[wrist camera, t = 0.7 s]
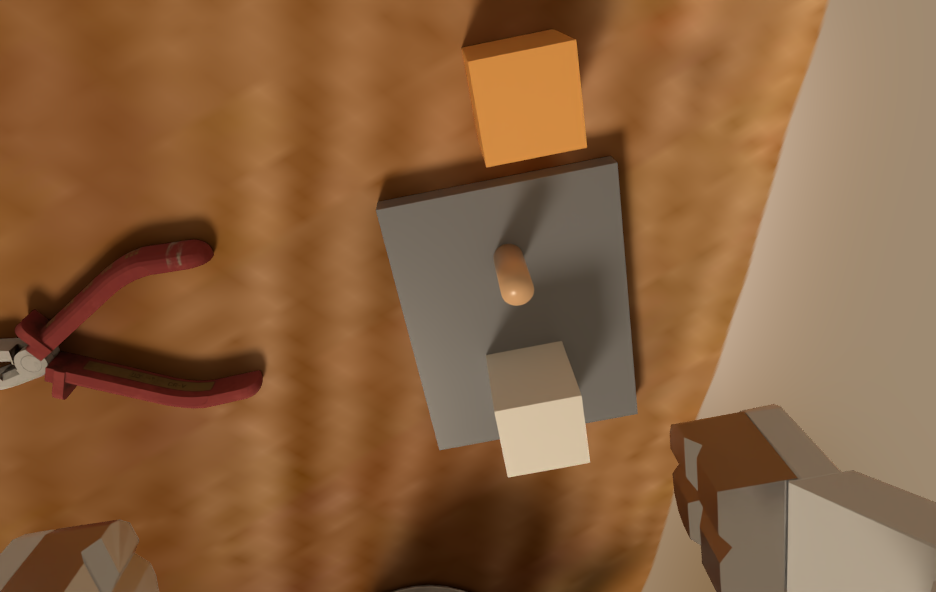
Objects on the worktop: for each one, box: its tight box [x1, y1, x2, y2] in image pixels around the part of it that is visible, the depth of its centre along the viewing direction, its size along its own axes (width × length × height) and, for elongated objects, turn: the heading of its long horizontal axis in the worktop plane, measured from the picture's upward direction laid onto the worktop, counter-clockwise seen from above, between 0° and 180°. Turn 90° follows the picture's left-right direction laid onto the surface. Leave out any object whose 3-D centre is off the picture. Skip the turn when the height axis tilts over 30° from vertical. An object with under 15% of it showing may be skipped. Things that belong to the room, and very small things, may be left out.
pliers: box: [0, 240, 263, 408], centre depth 41 cm, size 12×20×3 cm, turn 100°
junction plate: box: [376, 156, 638, 477], centre depth 39 cm, size 18×14×8 cm
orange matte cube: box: [462, 29, 587, 168], centre depth 33 cm, size 5×5×6 cm
